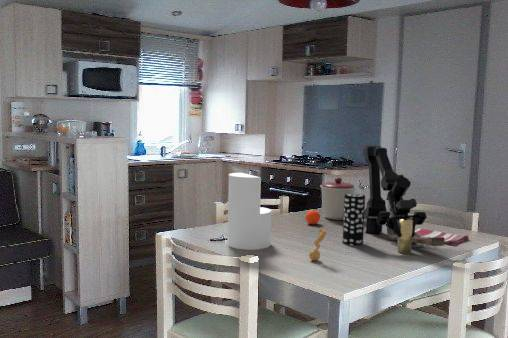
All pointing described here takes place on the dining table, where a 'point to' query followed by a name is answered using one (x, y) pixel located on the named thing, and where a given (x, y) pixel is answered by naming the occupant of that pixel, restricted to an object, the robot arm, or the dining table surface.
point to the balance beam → (419, 238)
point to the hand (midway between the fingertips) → (406, 236)
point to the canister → (335, 198)
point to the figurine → (315, 253)
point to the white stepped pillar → (247, 214)
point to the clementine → (312, 217)
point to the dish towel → (448, 238)
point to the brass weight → (405, 236)
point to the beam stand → (414, 245)
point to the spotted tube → (353, 219)
